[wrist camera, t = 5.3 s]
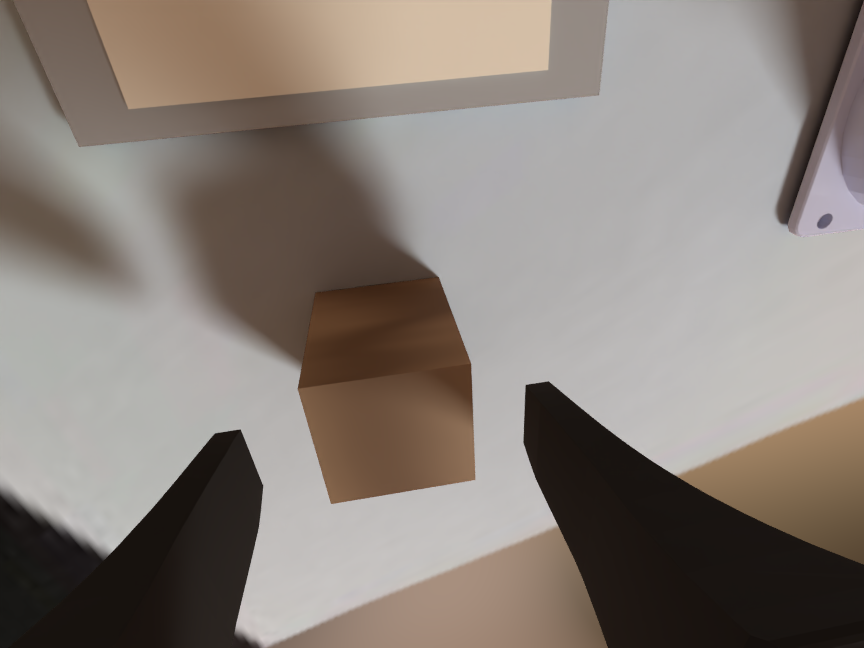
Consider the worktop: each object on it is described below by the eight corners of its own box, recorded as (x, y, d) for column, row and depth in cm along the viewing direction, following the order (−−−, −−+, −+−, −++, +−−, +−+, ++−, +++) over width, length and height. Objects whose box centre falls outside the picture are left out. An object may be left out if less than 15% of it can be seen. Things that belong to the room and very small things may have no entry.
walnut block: (438, 276, 15) (471, 363, 10) (445, 373, 17) (475, 479, 13) (315, 291, 14) (297, 388, 10) (338, 389, 16) (331, 503, 12)
